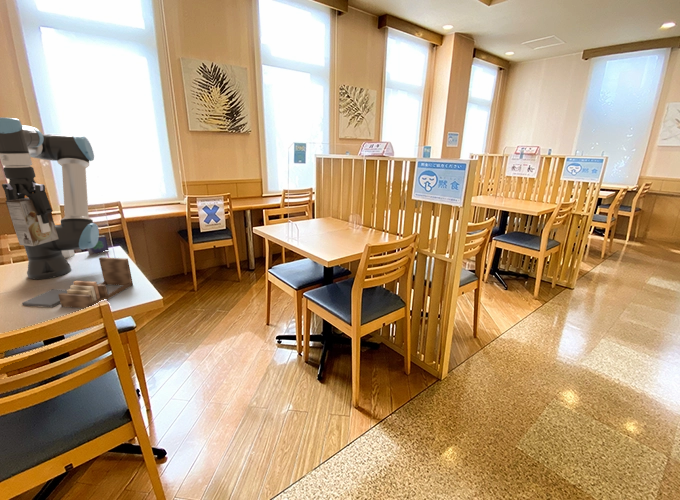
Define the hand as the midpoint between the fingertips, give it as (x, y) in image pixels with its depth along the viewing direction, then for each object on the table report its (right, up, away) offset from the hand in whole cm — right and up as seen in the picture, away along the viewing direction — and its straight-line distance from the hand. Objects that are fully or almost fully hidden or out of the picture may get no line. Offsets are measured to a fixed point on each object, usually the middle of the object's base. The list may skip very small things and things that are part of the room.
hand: (36, 231), depth 117 cm
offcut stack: (+14, -27, +5) cm, 31 cm away
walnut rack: (+14, -25, +12) cm, 31 cm away
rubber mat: (-1, -26, +8) cm, 27 cm away
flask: (-23, -8, +61) cm, 65 cm away
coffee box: (0, -4, +1) cm, 4 cm away
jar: (-36, -10, +54) cm, 66 cm away
